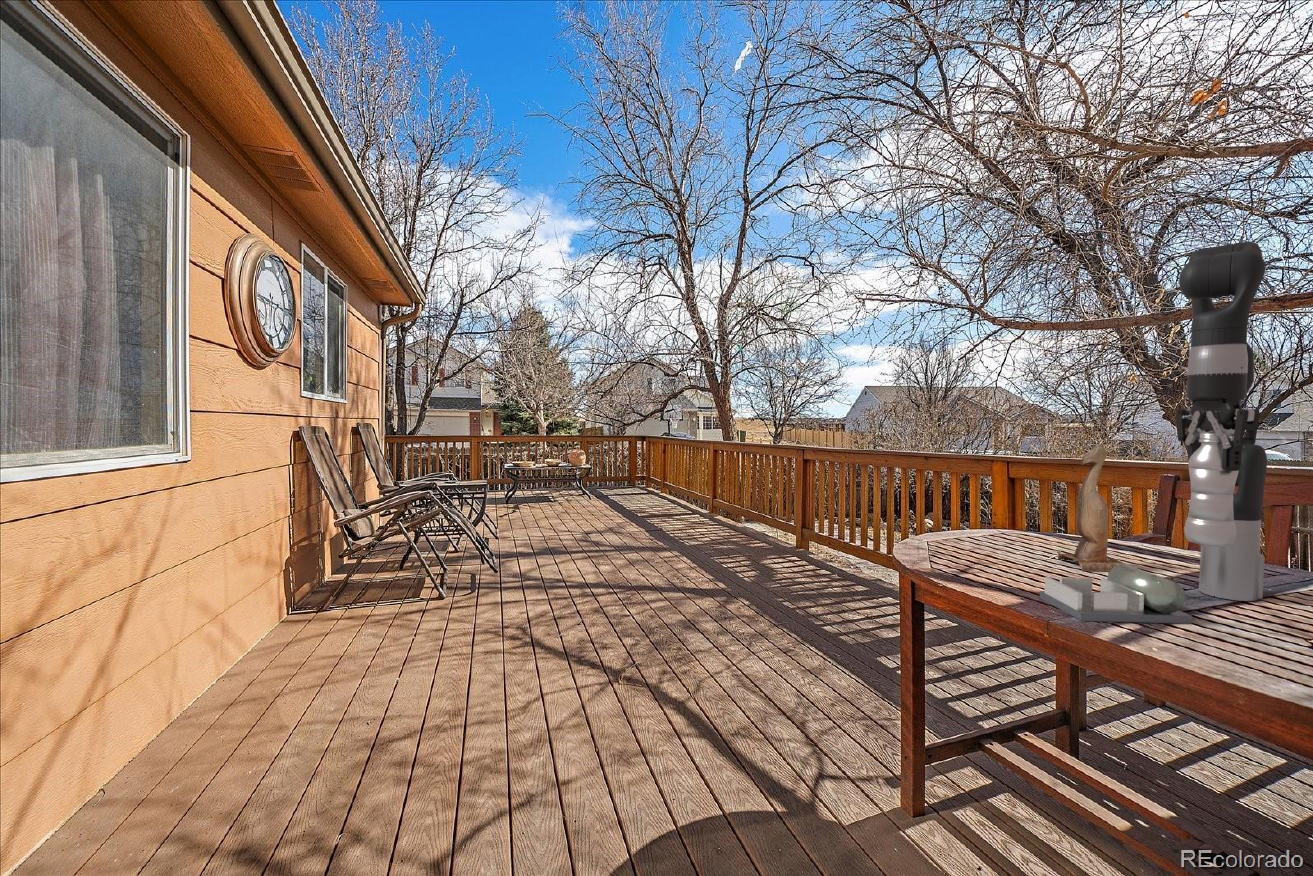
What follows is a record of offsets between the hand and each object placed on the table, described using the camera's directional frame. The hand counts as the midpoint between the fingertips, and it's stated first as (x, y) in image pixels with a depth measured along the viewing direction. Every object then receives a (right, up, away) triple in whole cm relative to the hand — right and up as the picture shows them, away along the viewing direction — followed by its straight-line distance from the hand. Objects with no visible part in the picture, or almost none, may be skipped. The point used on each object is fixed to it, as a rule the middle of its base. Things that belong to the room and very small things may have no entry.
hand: (1212, 468), depth 103 cm
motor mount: (-5, -30, +17) cm, 34 cm away
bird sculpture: (+16, -28, +50) cm, 60 cm away
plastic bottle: (0, -14, +1) cm, 14 cm away
